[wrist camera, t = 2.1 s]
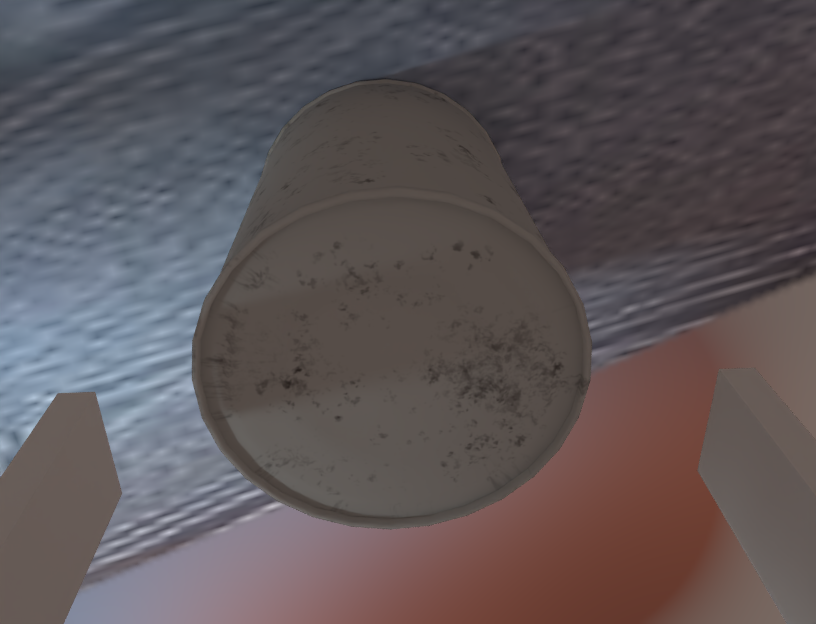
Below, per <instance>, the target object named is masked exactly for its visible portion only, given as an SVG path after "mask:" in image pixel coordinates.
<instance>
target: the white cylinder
mask: <svg viewBox="0 0 816 624" xmlns="http://www.w3.org/2000/svg"><path fill="white" fill-rule="evenodd" d="M591 353H592V340H591V336H590V331H589V327H588V322H587V318H586V313H585V309H584V304H583V302H582V301H581V299H580V297H579V295H578V293H577V291H576V289H575V287H574V286H573V284H572V282H571V280H570V278H569V276H568V274H567V272H566V270H565V269H564V267H563V265H562V264H561V263H560V262H559V261H558V260H557V259H556V258H555V257H554V255H553V254H552V253H551V252H550V250H549V249H548V247H547V245H546V243H545V241H544V240H543V238H542V236H541V234H540V232H539V231H538V229H537V227H536V225H535V223H534V222H533V220H532V218H531V216H530V214H529V213H528V211H527V209H526V207H525V205H524V204H523V202H522V200H521V198H520V196H519V195H518V193H517V191H516V189H515V187H514V186H513V184H512V182H511V180H510V178H509V177H508V175H507V173H506V171H505V169H504V168H503V166H502V163H501V159H500V156H499V154H498V152H497V150H496V148H495V147H494V145H493V143H492V141H491V139H490V137H489V135H488V133H487V132H486V131H485V129H484V128H483V127H482V126H481V125H480V124H479V123H478V122H477V120H476V119H475V118H474V117H473V116H472V115H471V114H470V113H469V111H468V110H466V109H465V108H463V107H462V106H460V105H459V104H458V103H456V102H455V101H453V100H452V99H450V98H449V97H447V96H446V95H445V94H443V93H440V92H438V91H435V90H432V89H430V88H427V87H425V86H422V85H420V84H417V83H412V82H405V81H398V80H391V79H380V80H369V81H358V82H354V83H351V84H348V85H345V86H342V87H339V88H336V89H333V90H330V91H328V92H326V93H324V94H323V95H321V96H320V97H318V98H316V99H315V100H313V101H312V102H310V103H308V104H307V105H305V106H304V107H303V108H302V109H301V110H300V111H299V112H298V113H297V114H296V115H295V116H294V117H293V118H292V119H291V120H290V121H289V122H288V123H287V124H286V125H285V126H284V127H283V128H282V130H281V132H280V133H279V135H278V137H277V138H276V140H275V142H274V143H273V145H272V147H271V149H270V150H269V152H268V155H267V158H266V162H265V165H264V168H263V171H262V175H261V178H260V180H259V183H258V185H257V187H256V190H255V192H254V195H253V197H252V199H251V202H250V204H249V206H248V209H247V211H246V214H245V216H244V218H243V221H242V223H241V225H240V228H239V230H238V233H237V235H236V237H235V240H234V242H233V245H232V247H231V249H230V252H229V254H228V256H227V259H226V261H225V264H224V266H223V268H222V271H221V273H220V275H219V277H218V278H217V280H216V281H215V283H214V285H213V286H212V288H211V290H210V291H209V293H208V295H207V296H206V298H205V300H204V302H203V306H202V309H201V313H200V316H199V320H198V323H197V327H196V330H195V333H194V337H193V340H192V382H193V386H194V389H195V393H196V397H197V401H198V405H199V409H200V412H201V416H202V419H203V420H204V422H205V424H206V426H207V428H208V429H209V431H210V433H211V435H212V437H213V438H214V440H215V442H216V444H217V446H218V447H219V449H220V451H221V452H222V453H223V454H224V455H225V456H226V457H227V459H228V460H229V461H230V462H231V463H232V464H233V465H234V466H235V467H236V468H237V469H238V471H239V472H240V473H241V474H242V475H243V476H244V477H245V478H246V479H247V480H248V481H250V482H251V483H253V484H254V485H255V486H257V487H258V488H260V489H261V490H262V491H264V492H265V493H267V494H268V495H270V496H271V497H272V498H274V499H275V500H277V501H278V502H281V503H283V504H285V505H287V506H289V507H292V508H294V509H296V510H298V511H301V512H303V513H305V514H307V515H310V516H312V517H315V518H319V519H323V520H327V521H331V522H335V523H339V524H343V525H347V526H351V527H365V528H378V529H379V528H380V529H399V528H410V527H420V526H430V525H433V524H437V523H441V522H444V521H448V520H452V519H456V518H459V517H463V516H467V515H469V514H472V513H474V512H476V511H478V510H480V509H482V508H484V507H486V506H489V505H491V504H493V503H495V502H497V501H499V500H502V499H503V498H505V497H506V496H508V495H509V494H510V493H512V492H513V491H514V490H516V489H517V488H519V487H520V486H521V485H523V484H524V483H526V482H527V481H529V480H530V479H531V478H533V477H534V476H535V475H536V474H537V473H538V472H539V471H540V470H541V469H542V468H543V466H544V465H545V464H546V463H547V462H548V461H549V460H550V459H551V458H552V457H553V456H554V455H555V454H556V453H557V452H558V451H559V449H560V448H561V446H562V444H563V443H564V441H565V440H566V438H567V436H568V435H569V433H570V431H571V429H572V428H573V426H574V424H575V422H576V421H577V419H578V418H579V415H580V412H581V409H582V405H583V402H584V399H585V395H586V392H587V389H588V386H589V383H590V375H591Z"/></svg>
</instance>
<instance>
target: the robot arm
mask: <svg viewBox="0 0 816 624" xmlns="http://www.w3.org/2000/svg"><path fill="white" fill-rule="evenodd" d="M698 472H699V474H700V476H701V477H702V479H703V481H704V482H705V484H706V486H707V488H708V489H709V491H710V493H711V494H712V496H713V498H714V500H715V501H716V503H717V505H718V506H719V508H720V510H721V512H722V513H723V515H724V517H725V519H726V520H727V522H728V524H729V525H730V527H731V529H732V530H733V532H734V534H735V536H736V537H737V539H738V541H739V543H740V544H741V546H742V548H743V549H744V551H745V553H746V555H747V556H748V558H749V560H750V561H751V563H752V565H753V566H754V568H755V570H756V572H757V573H758V575H759V577H760V579H761V580H762V582H763V584H764V585H765V587H766V589H767V591H768V592H769V594H770V596H771V597H772V599H773V601H774V603H775V604H776V606H777V608H778V609H779V611H780V613H781V615H782V616H783V618H784V620H785V621H786V623H787V624H816V440H815V438H814V437H813V436H812V435H811V434H810V432H809V431H808V430H807V429H806V428H805V427H804V425H803V424H802V423H801V422H800V421H799V419H798V418H797V417H796V416H795V415H794V414H793V412H792V411H791V410H790V409H789V408H788V406H787V405H786V404H785V403H784V402H783V401H782V399H781V398H780V397H779V396H778V395H777V393H776V392H775V391H774V390H773V389H772V388H771V386H770V385H769V384H768V383H767V382H766V380H765V379H764V378H763V377H762V376H761V375H760V373H759V372H758V371H757V370H756V369H755V368H734V369H719V372H718V376H717V381H716V386H715V391H714V395H713V401H712V405H711V410H710V414H709V419H708V424H707V428H706V433H705V438H704V442H703V447H702V452H701V456H700V462H699V466H698ZM121 495H122V491H121V488H120V484H119V480H118V476H117V473H116V469H115V465H114V461H113V458H112V454H111V450H110V446H109V443H108V439H107V435H106V431H105V427H104V424H103V420H102V416H101V412H100V409H99V405H98V401H97V397H96V394H95V392H80V393H58V394H57V395H56V397H55V398H54V400H53V401H52V403H51V404H50V406H49V407H48V409H47V410H46V412H45V413H44V414H43V416H42V417H41V419H40V420H39V422H38V423H37V425H36V426H35V428H34V429H33V431H32V432H31V434H30V435H29V437H28V438H27V439H26V441H25V442H24V444H23V445H22V447H21V448H20V450H19V451H18V453H17V454H16V456H15V457H14V459H13V460H12V462H11V463H10V464H9V466H8V467H7V469H6V470H5V472H4V473H3V475H2V476H1V478H0V624H64V622H65V619H66V617H67V615H68V613H69V611H70V608H71V606H72V604H73V602H74V599H75V597H76V595H77V593H78V590H79V588H80V586H81V584H82V582H83V579H84V577H85V575H86V573H87V570H88V568H89V566H90V564H91V561H92V559H93V557H94V555H95V553H96V550H97V548H98V546H99V544H100V541H101V539H102V537H103V535H104V532H105V530H106V528H107V526H108V524H109V521H110V519H111V517H112V515H113V512H114V510H115V508H116V506H117V503H118V501H119V499H120V497H121Z"/></svg>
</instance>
